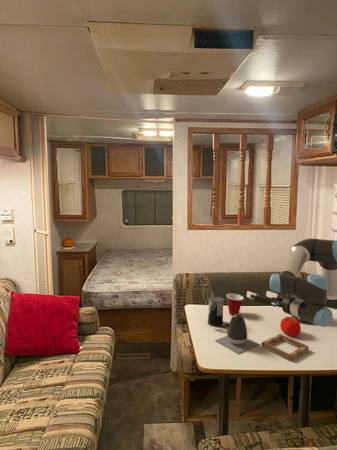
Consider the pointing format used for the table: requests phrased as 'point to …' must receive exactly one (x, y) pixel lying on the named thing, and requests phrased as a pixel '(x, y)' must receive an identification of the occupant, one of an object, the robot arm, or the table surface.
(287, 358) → the walnut collar
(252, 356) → the table surface
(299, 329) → the tomato
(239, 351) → the rubber mat
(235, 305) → the plastic cup
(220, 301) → the milk frother
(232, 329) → the pump dispenser
